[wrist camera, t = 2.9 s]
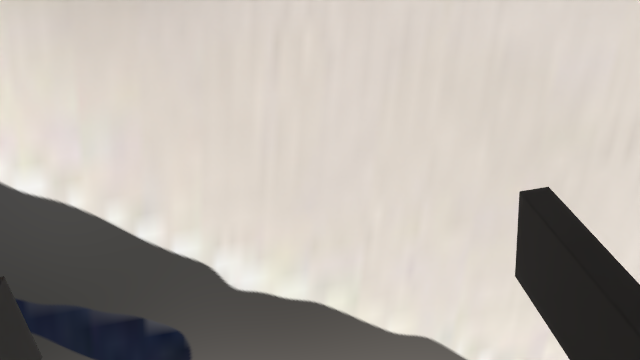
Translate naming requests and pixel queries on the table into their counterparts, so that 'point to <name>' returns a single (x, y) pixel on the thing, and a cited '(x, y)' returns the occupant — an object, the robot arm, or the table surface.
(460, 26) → the table surface
